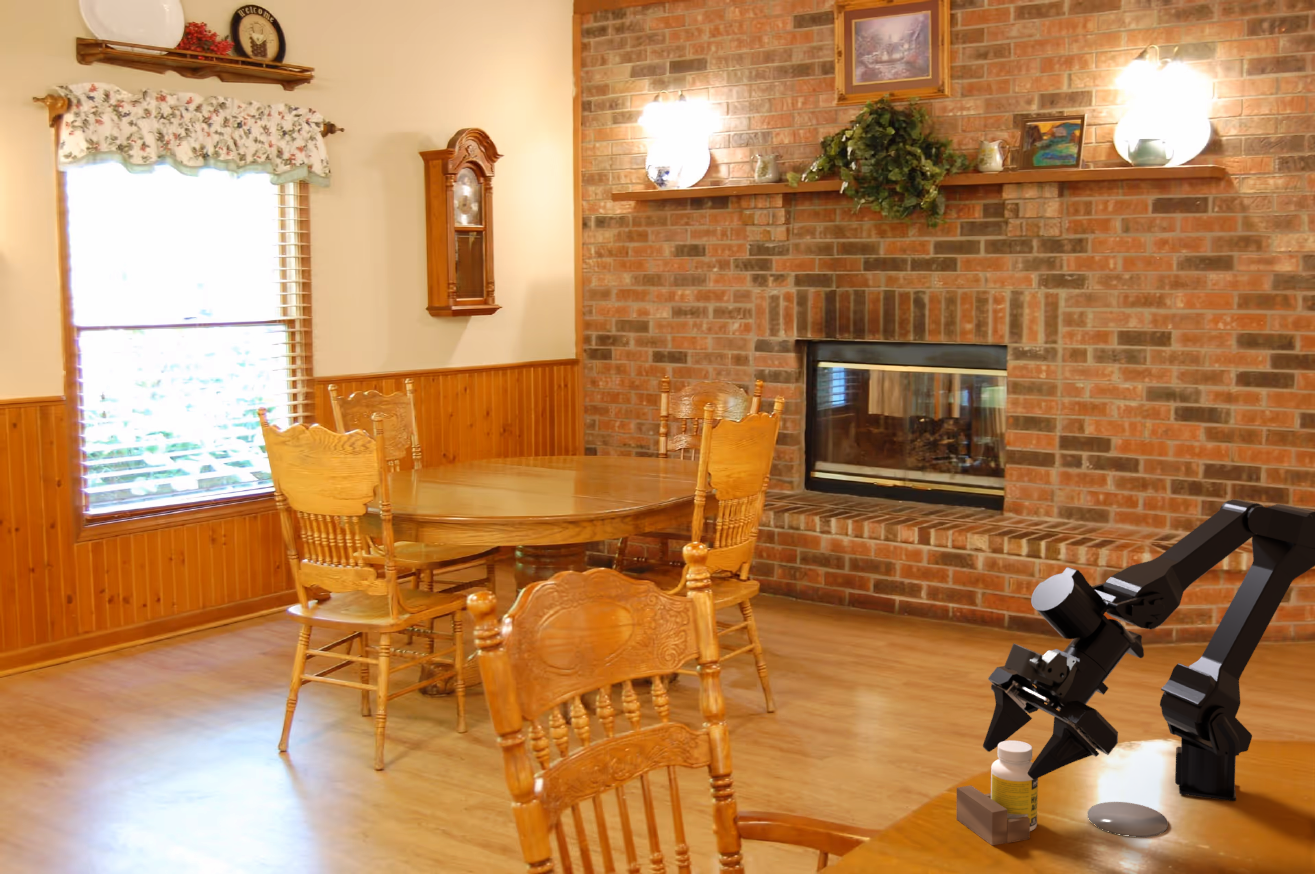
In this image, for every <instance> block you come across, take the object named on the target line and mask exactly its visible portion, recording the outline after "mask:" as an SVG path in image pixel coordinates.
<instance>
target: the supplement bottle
mask: <svg viewBox="0 0 1315 874" xmlns="http://www.w3.org/2000/svg"><path fill="white" fill-rule="evenodd" d="M997 758H998V759H996V760H995V761H993V762H992V763H991V767H990V769H991V771H990V793H991V799H992V800H994V801H995V802H997V803H998V804H1000V805H1001V806H1002V807H1004V808H1005V809H1007V820H1010V819H1015V818H1021V817H1026V816H1027V817H1028V818H1030V832H1032V831H1033V830H1035V829H1036V828H1037V825H1038V797H1039V796H1038V791H1039V789H1038V788H1039V787H1038V786H1039V778H1037V779H1032V778H1031V777H1030V776H1029V775H1028V771H1029V769H1030V768H1031V766H1032V764H1033V762H1032V760H1033V746H1032V745H1031V744H1030V743H1027V742H1025V741H1022V740H1021V741H1020V740H1010V739H1009V740H1005V741H1003V742H1000V743H999V744H998V747H997Z"/></svg>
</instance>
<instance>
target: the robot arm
mask: <svg viewBox="0 0 1315 874" xmlns="http://www.w3.org/2000/svg"><path fill="white" fill-rule="evenodd" d="M1250 539H1251V546H1252V563H1251V565H1250V567H1249V569H1248V571H1247V573H1246V574H1245V577H1244V578H1243V580H1242V582H1241V584H1240V586H1239V588H1238V589H1237V590H1236V593H1235V594H1234V597H1233V598H1232V600H1231V602H1230V604H1229V605H1228V608H1227V609H1226V611H1225V613H1224V615H1223V617H1222V618H1221V620H1220V622H1219V624H1218V626H1217V628H1216V630H1215V631H1214V633H1213V634H1212V637H1211V639H1210V640H1209V642H1208V644H1207V646H1206V648H1205V650H1204V652H1203V653H1202V654H1201V657H1200V658H1199V659H1198V660H1196V661H1195V662H1194V663H1191V664H1190V665H1189V666H1187V665H1184V664H1182V663H1181V662H1180V663H1177V664H1176V665H1175V666H1174V667H1173V669H1172V671H1171V674H1170V676H1169V679H1168V680H1167V681H1166V682H1165V684H1164V685H1163V686H1162V687H1161V688H1160V690H1161V691H1162V692H1163V693H1162V695H1161V698H1160V702H1159V706H1160V709H1161V715H1162V716H1163V719H1164V720H1165V722H1166V724H1167V727H1168V731H1169V732H1170V734H1171V735H1174V736H1177V737H1179V738H1181V739H1180V740H1181V741H1180V742H1181V743H1180V746H1176V747H1175V769H1174V770H1175V776H1174V778H1175V779H1174V781H1175V782H1174V783H1175V784H1176V785H1178V794H1179V795H1182V796H1191V797H1198V798H1204V799H1205V798H1207V799H1214V800H1221V801H1230V802H1235V801H1236V800H1237V795H1236V794H1237V793H1236V785H1235V784H1236V781H1235V780H1236V758H1237V756H1240V753H1244V752H1248V750H1249V749H1250V745H1251V741H1252V738H1253V734H1252V733H1251V732H1250V731H1249V730H1248V729H1247V727H1245V725H1244V724H1242V723H1241V721H1239V719H1238V718H1237V717H1236V716H1237V714H1238V711H1239V709H1240V707H1241V690H1240V679H1241V676H1242V674H1243V673H1244V670H1245V669H1246V667H1247V665H1248V663H1249V661H1250V659H1251V658H1252V656H1253V654H1254V652H1255V651H1256V648H1257V646H1258V645H1259V643H1260V641H1261V640H1262V637H1263V635H1264V634H1265V632H1266V630H1267V628H1268V626H1269V625H1270V623H1271V621H1272V619H1273V617H1274V615H1275V614H1276V612H1277V610H1278V608H1279V607H1280V604H1281V602H1283V599H1284V597H1285V595H1286V594H1287V592H1288V590H1289V588H1290V586H1291V584H1292V583H1293V581H1295V579H1297V578H1298V577H1300V576H1301V575H1304V574H1306V572H1308V571H1310V570H1311V569H1312V568H1313V569H1314V567H1315V510H1313V509H1308V508H1304V507H1299V506H1293V505H1289V504H1284V503H1283V504H1282V503H1277V504H1276V503H1275V504H1274V505H1272V506H1271V505H1268V506H1264V505H1263V504H1261V503H1258V502H1254V501H1248V500H1243V499H1238V498H1235V499H1229V500H1226V501H1224V502H1223V504H1221V506H1220V508H1219V510H1218V511H1217V512H1215V513H1214V514H1212V516H1210V517H1209V518H1208V519H1207V520H1205V521H1204V522H1203V523H1201V524H1200V525H1198V526H1197V527H1195V528H1194V529H1193V530H1192V531H1190V532H1189V533H1188V534H1187V535H1185V536H1184V537H1182V539H1180V540H1179V541H1177V542H1176V543H1175V544H1173V545H1172V546H1171V547H1170V548H1168V549H1167V550H1165V551H1164V552H1163V553H1161V555H1159V556H1157V557H1155V558H1153V559H1151V560H1148V561H1144V562H1140V563H1136V564H1131V565H1130V566H1128V567H1126V568H1124V569H1122V570H1120V571H1118V572H1116V573H1114V574H1113V575H1111V576H1110V577H1109V578H1107V580H1106V581H1105V582H1102V583H1099V584H1096V585H1091V584H1090V583H1089V582H1088V581H1087V578H1086V576H1085V575H1084V574H1083V573H1082V572H1081V571H1080V570H1079V569H1076V568H1074V567H1070V566H1067V567H1066V568H1065V569H1064V570H1063V572H1062V573H1057V574H1054V575H1052V576H1050V577H1048V578H1047V579H1045V580H1044V581H1041V582H1039V583H1038V585H1036V587H1035V589H1034V590H1033V593H1032V594H1031V598H1030V601H1031V605H1032V607H1033V609H1034V610H1036V611H1037V612H1038V614H1039V615H1040V616H1041V617H1042V618H1043V619H1044V620H1045V621H1046V622H1048V624H1049V625H1050V626H1051V627H1052V628H1053V629H1054V630H1055V632H1057V633H1058V634H1059V635H1060V637H1062V638H1063V639H1066V640H1071V641H1070V642H1069V644H1068V645H1067V646H1066V647H1065V648H1064V650H1063V651H1062V650H1060V649H1058V648H1055V649H1052V650H1050V649H1049V650H1047V651H1046V652H1045V653H1044V654H1042V653H1040V652H1037V651H1035V650H1032V649H1029V648H1028V647H1024V646H1022V645H1019V644H1017V643H1015V642H1014V643H1013V644H1012V646H1011V648H1010V651H1009V653H1008V656H1007V659H1006V661H1005V663H1004V665H1002V666H997V667H996V668H995V669H994V670H993V671H992V672H991V674H990V676H988V677H987V680H988V681H989V682H990V683H991V685H990V690H991V691H992V692H993V693H994V699H995V705H994V706H995V707H994V710H993V714H992V717H991V721H990V723H989V726H988V729H987V732H986V735H985V738H984V741H983V744H982V748H983V749H984V750H985V751H987V752H988V753H990V752H991V751H993V750H994V749H996V748H998V744H999V743H1000V742H1003V741H1007V740H1008V739H1009V738H1010V737H1012V736H1013V735H1014V734H1015V733H1016V732H1018V731H1019V730H1020V729H1022V728H1023V727H1024V726H1025V725H1026V724H1027V723H1029V722H1030V721H1032V719H1033V717H1032V716H1031V715H1030V714H1032V713H1034V712H1037V711H1039V710H1041V711H1042V712H1045V713H1047V714H1048V715H1050V716H1053V717H1054V718H1053V727H1052V728H1053V729H1052V730H1053V731H1052V734H1051V737H1050V738H1049V739H1048V741H1047V742H1046V744H1045V745H1044V747H1043V748H1042V749H1041V751H1040V752H1039V753H1038V755H1037V757H1036V758H1035V759H1034V761H1033V762H1032V763H1033V764H1032V766H1031V768H1030V769H1029V771H1028V775H1029V776H1030V777H1031V778H1032V779H1037V778H1038V779H1039V778H1041V777H1043V776H1046V775H1048V774H1050V773H1052V772H1054V771H1056V770H1058V769H1060V768H1063V767H1065V766H1068V765H1069V764H1072V763H1075V762H1077V761H1080V760H1082V759H1086V758H1088V757H1091V756H1093V757H1098V756H1100V752H1101V753H1103V754H1105V755H1107V756H1109V755H1110V754H1111V753H1112V751H1113V749H1114V748H1115V747H1116V746H1117V745H1118V742H1119V732H1118V731H1117V729H1116V728H1115V727H1114V726H1112V724H1111V723H1110V722H1109V720H1107V719H1106V718H1105V717H1104V716H1103V715H1102V713H1100V712H1099V711H1098V710H1097V709H1096V708H1093V707H1092V706H1089V705H1087V704H1088V703H1089V701H1090V700H1091V698H1093V696H1094V695H1095V694H1096V693H1099V694H1101V695H1105V694H1106V692H1107V691H1108V690H1109V687H1108V686H1107V684H1105V683H1104V682H1105V681H1106V680H1107V678H1108V677H1110V675H1111V673H1112V672H1113V670H1114V669H1115V668H1116V667H1117V665H1118V664H1119V663H1121V662H1120V661H1121V660H1122V659H1123V658H1124V657H1125V656H1126V654H1129V655H1131V656H1134V657H1136V658H1138V659H1143V658H1144V657H1145V651H1144V646H1143V643H1142V639H1143V636H1142V634H1140V633H1137V632H1134V631H1131V630H1127V628H1125V626H1124V625H1123V624H1122V623H1121V622H1124V623H1127V624H1129V625H1132V626H1135V627H1138V628H1141V629H1144V630H1154V629H1157V628H1158V627H1160V626H1162V625H1163V624H1164V623H1165V622H1166V620H1167V619H1169V617H1171V616H1172V614H1173V613H1174V612H1175V611H1176V610H1177V609H1178V608H1179V606H1180V604H1181V601H1182V598H1183V594H1184V592H1185V591H1186V590H1187V589H1188V588H1189V587H1190V586H1191V585H1192V584H1193V583H1195V582H1196V581H1197V580H1199V579H1200V578H1202V576H1204V575H1206V573H1208V572H1209V571H1210V570H1212V569H1213V568H1214V567H1216V566H1217V565H1218V564H1220V563H1221V562H1222V561H1223V560H1225V559H1226V558H1227V557H1229V556H1230V555H1231V554H1232V553H1234V552H1235V551H1236V550H1238V549H1239V548H1240V547H1241V546H1243V545H1244V544H1245V543H1246V542H1247V541H1249V540H1250ZM1106 613H1107V615H1108V616H1109V617H1111V618H1108V617H1107V616H1106V615H1105V614H1106ZM1113 618H1114V619H1113ZM1118 620H1119V621H1118ZM1120 621H1121V622H1120Z"/></svg>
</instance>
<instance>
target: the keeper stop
mask: <svg viewBox="0 0 1315 874" xmlns="http://www.w3.org/2000/svg"><path fill="white" fill-rule="evenodd" d="M956 820H957V821H958V822H960V823H961V824H962V825H964V826H965V827H966V828H968V829H969V830H970V831H972V832H973V833H974V834H976V835H977V836H979V838H981V839H983V840H984V841H985V842H987V843H988V844H990V846H997V845H1002V844H1003V845H1004V844H1010V843H1015V842H1019V841H1026V840H1030V834H1031V833H1030V832H1031V831H1030V818H1028V817H1027V816H1026V817H1021V818H1015V819H1010V820H1007V809H1005V808H1004V807H1002V806H1001V805H1000V804H998V803H997V802H995V801H994V800H992V799H991V792H990V793H983V792H982V791H980V790H978V789H977V788H975V787H974V786H973V785H965V786H964V785H963V786H960V787H959V786H957V787H956Z"/></svg>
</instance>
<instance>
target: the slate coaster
mask: <svg viewBox="0 0 1315 874" xmlns="http://www.w3.org/2000/svg"><path fill="white" fill-rule="evenodd" d="M1087 810H1088V811H1087V819H1088V818H1089V820H1090V821H1091V822H1092V823H1093V824H1095V825H1096V826H1097V827H1096V826H1095V827H1096V828H1098V827H1099V828H1098V829H1100V830H1102V829H1103V830H1102V831H1103V832H1104V831H1105V832H1107V831H1109V832H1108V833H1110V832H1111V833H1110V834H1113V833H1116V834H1115V835H1117V834H1120V835H1119V836H1123V835H1129V836H1128V837H1130V836H1136V837H1135V838H1144V837H1145V838H1146V837H1154V836H1157V835H1161V834H1163V833H1164V832H1165V831H1166V830H1167V829H1168V819H1167V817H1166V816H1165V815H1164V814H1163V813H1161V812H1159V811H1158V810H1156V809H1154V808H1151V807H1149V806H1145V805H1141V804H1138V803H1133V802H1126V801H1107V802H1106V801H1105V802H1100V803H1097V804H1095V805H1093V806H1091V807H1090V808H1089V809H1087ZM1089 820H1088V821H1089ZM1090 821H1089V822H1090ZM1091 822H1090V823H1091ZM1092 823H1091V824H1092ZM1093 824H1092V825H1093ZM1160 833H1161V834H1160Z"/></svg>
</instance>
